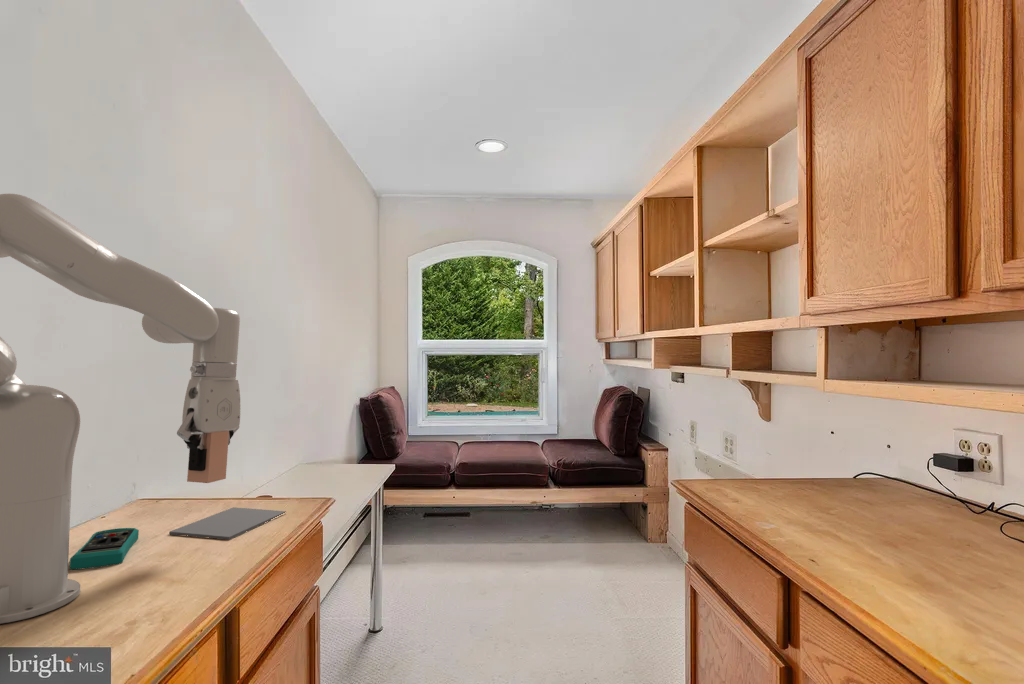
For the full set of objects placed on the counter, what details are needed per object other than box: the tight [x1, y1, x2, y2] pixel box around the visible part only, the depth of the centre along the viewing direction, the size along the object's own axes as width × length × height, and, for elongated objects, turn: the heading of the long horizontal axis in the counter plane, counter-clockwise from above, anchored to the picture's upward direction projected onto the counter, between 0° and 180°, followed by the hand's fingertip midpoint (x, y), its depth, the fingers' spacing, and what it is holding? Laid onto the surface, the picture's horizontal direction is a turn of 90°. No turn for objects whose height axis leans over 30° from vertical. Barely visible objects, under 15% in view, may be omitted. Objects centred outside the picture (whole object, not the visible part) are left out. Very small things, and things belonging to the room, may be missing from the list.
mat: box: [169, 506, 287, 541], centre depth 113 cm, size 18×14×1 cm
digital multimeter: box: [69, 527, 140, 570], centre depth 95 cm, size 7×15×3 cm, turn 26°
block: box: [186, 430, 229, 484], centre depth 99 cm, size 4×4×10 cm
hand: (207, 467), depth 99 cm, fingers closed on block, 4 cm apart
